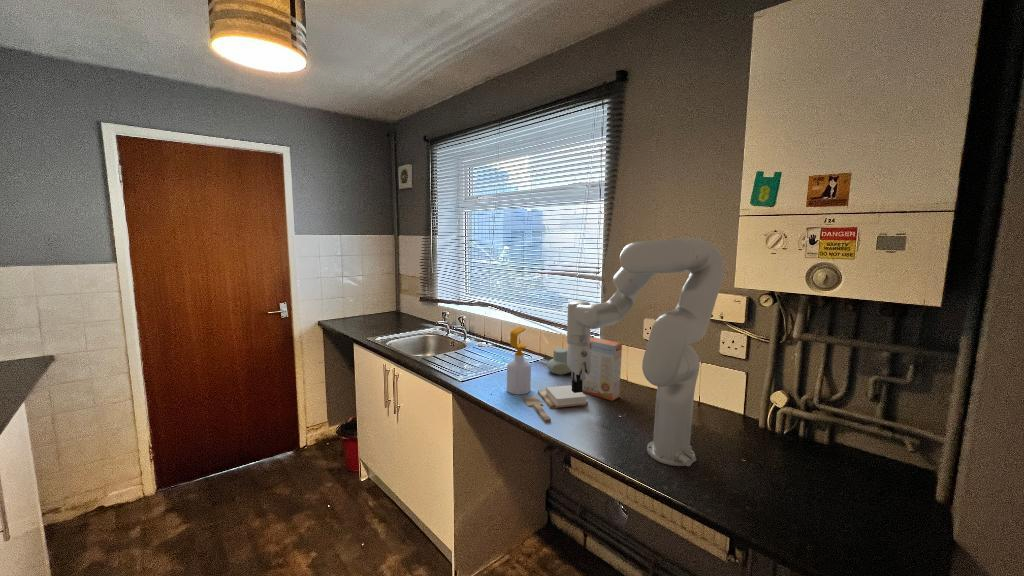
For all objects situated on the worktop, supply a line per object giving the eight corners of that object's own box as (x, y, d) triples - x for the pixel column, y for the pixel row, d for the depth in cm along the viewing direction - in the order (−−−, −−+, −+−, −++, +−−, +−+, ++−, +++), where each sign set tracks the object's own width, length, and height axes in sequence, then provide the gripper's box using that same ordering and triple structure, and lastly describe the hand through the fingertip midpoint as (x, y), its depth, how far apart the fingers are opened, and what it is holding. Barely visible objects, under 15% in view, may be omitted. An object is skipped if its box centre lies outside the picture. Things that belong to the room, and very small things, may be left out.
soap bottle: (535, 391, 162) (536, 329, 158) (515, 397, 157) (516, 332, 153) (521, 384, 169) (522, 324, 166) (502, 389, 164) (503, 327, 160)
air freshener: (548, 375, 180) (548, 352, 178) (546, 369, 188) (546, 347, 187) (573, 376, 180) (574, 353, 178) (570, 369, 188) (571, 347, 187)
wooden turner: (556, 422, 137) (556, 418, 137) (539, 423, 136) (539, 420, 136) (536, 398, 156) (537, 394, 156) (522, 399, 155) (522, 396, 155)
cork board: (587, 404, 151) (587, 402, 151) (550, 408, 147) (550, 405, 147) (572, 390, 164) (572, 387, 164) (537, 393, 161) (538, 390, 160)
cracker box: (620, 397, 158) (623, 342, 155) (611, 401, 154) (614, 345, 151) (587, 387, 167) (590, 335, 164) (579, 391, 163) (581, 338, 160)
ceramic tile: (586, 396, 148) (574, 385, 159) (556, 399, 145) (546, 387, 156) (586, 404, 148) (573, 392, 159) (556, 407, 146) (545, 395, 156)
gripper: (598, 343, 134) (596, 399, 136) (580, 332, 148) (578, 383, 151) (576, 345, 132) (575, 401, 135) (559, 333, 146) (558, 384, 149)
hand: (576, 391), depth 143 cm, fingers closed
